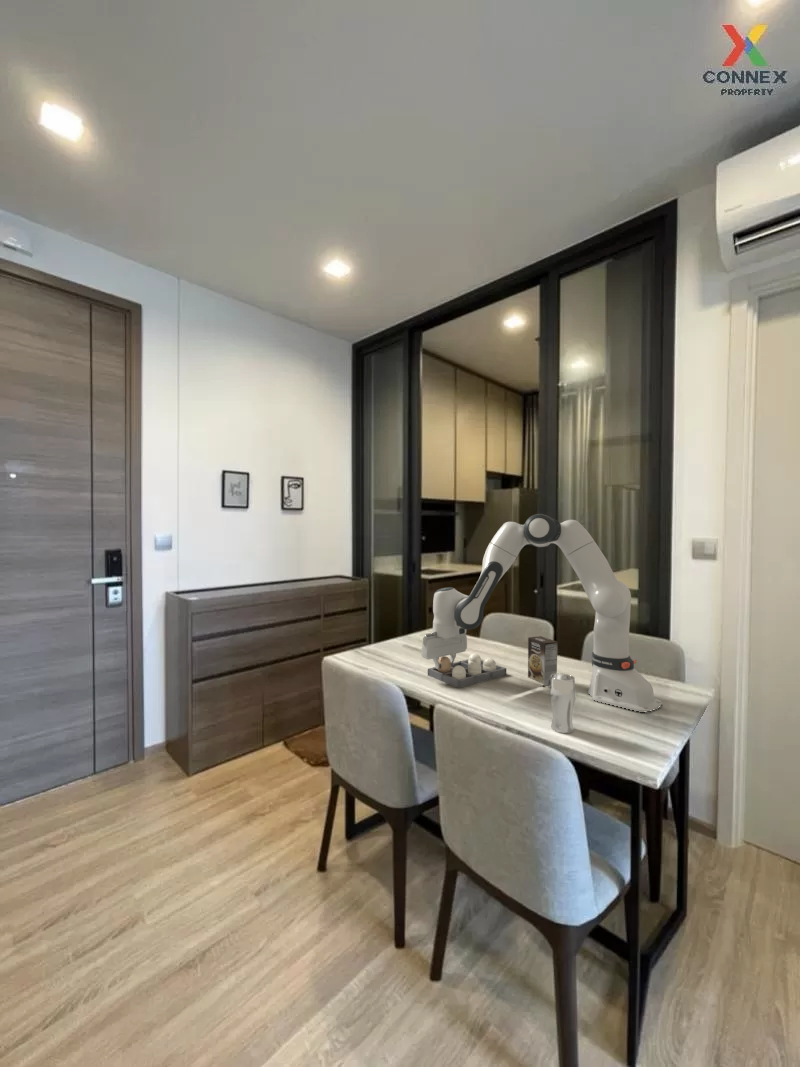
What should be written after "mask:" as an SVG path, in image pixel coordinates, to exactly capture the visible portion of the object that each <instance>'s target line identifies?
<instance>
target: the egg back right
mask: <svg viewBox="0 0 800 1067" xmlns="http://www.w3.org/2000/svg"><path fill="white" fill-rule="evenodd" d="M481 660H482V658H481V656H480V655H479V654H478V653H476V652H474V653H471V654H470V655H469V656H468V664H470V663H471V662H478V663H479V664H480V665H481Z"/></svg>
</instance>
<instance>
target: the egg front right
mask: <svg viewBox="0 0 800 1067" xmlns="http://www.w3.org/2000/svg"><path fill="white" fill-rule="evenodd" d="M483 661H484V662H483V669H485V670H487V671H493V670H496V665H497V663H496V661H495V659H493V658H491V657H488V658H487V657H486V658H485V659H484V660H483Z"/></svg>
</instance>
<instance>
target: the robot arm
mask: <svg viewBox="0 0 800 1067" xmlns="http://www.w3.org/2000/svg"><path fill="white" fill-rule="evenodd" d="M552 544H555V545H556V546H558V547H559V549H560V550H561V552H562V553H563V554H564V557H565V558H566V560H567V561H568V563H569V565H570V566H571V567H572V569H573V570H574V572H575V574H576V575H577V577H578V580H579V581H580V584H581V585H582V588H583V590H584V592H585V595H586V596H587V598H588V600H589V602H590V604H591V606H592V608H593V610H594V611H595V614H594V616H595V617H594V626H593V650H592V652H591V666H592V673H591V679H590V684H589V687H588V690H587V693H588V695H589V694H590V697H592V698H593V699H592V698H591V699H592V701H594V700H595V701H594V702H597V701H598V702H597V703H601V702H602V703H601V704H605V703H606V704H605V705H608V704H610V705H609V706H612V705H614V706H613V707H616V706H618V708H620V707H622V708H621V709H624V708H626V709H625V710H628V709H630V710H629V711H632V710H634V711H633V712H636V711H639V712H638V713H640V712H644V711H650V710H653V709H656V708H658V707H659V706H661V704H662V705H663V702H662V700H661V699H658V698H656V697H655V693H654V692H655V691H654V687H653V685H652V683H650V681H648V679H646V678H645V677H644V676H643V675H642V674H641V673H640V672H639V671H637V669H635V664H637V659H634V660H633V659H632V658H631V656H630V626H631V625H630V622H631V609H632V608H631V605H632V604H631V603H632V602H631V601H632V592H631V591H630V588H629V586H627V585H626V584H625V583H624V582H623V581H620V580H618V579H617V577H616V574H614V571H613V569H612V568H611V565H610V564H609V561H608V560H607V558H606V557H605V555H604V553H603V551H601V548H600V547H599V545H598V544H597V543H596V541H595V540H594V538H593V537H592V535H591V534H590V533H589V531H588V530H587V529H586V528H585V527H584V525H582V524H581V523H580V522H579V520H575V519H567V520H565V521H562V522H560V521H559V520H556V519H554V518H553V517H550V516H549V515H547V514H543V513H536V514H533V515H531V516H529V517H528V518H527V519H526V521H525V523H524V524H521V523H518V522H515V521H507V522H504V523H503V524H502V525H501V526H500V528H499V529H498V530H497V532H496V533H495V534H494V536H493V537H492V539H491V540H490V542H489V543H488V546H487V547H486V549H485V553H484V555H483V559H482V564H481V566H482V568H481V572H480V576H479V578H478V580H477V581H476V584H475V585H474V587H473V589H472V590H471V592H470V594H469V595H467V594H464V593H462V592H460V591H458V590H457V589H456V588H454V587H451V586H449V587H447V586H446V587H442V588H439V589H437V590H436V591H435V592H434V594H433V599H432V600H433V602H432V603H433V604H432V612H433V621H432V632H428V633H426V634H425V635H424V636H423V637H422V645H421V652H420V653H421V658H423V659H425V660H427V661H428V660H432V661H433V662H434V664H435V666H434V667H435V668H436V669H440V668H441V664H440V663H439V662H438V660H439V658H441V657H443V656H445V657H447V656H450V657H449V659H450V661H451V666H452V665H454V663H455V659H456V657H457V654H459V653H464V652H466V651H467V648H468V638H467V631H469V630H470V631H471V630H473V629H474V630H475V629H476V628H478V627H479V626H480V625H481V623H482V622H483V620H484V611H485V606H486V604H487V602H488V601H489V598H490V597H491V594H492V593H493V592H494V589H495V588H496V586H497V584H498V582H499V581H500V580H501V579H502V578H503V576H504V575H505V573H506V572H508V571H509V569H510V568H511V567H512V565H513V564H514V562H515V561H516V559H517V557H518V555H519V554H520V553H521V550H522V549H523V548H524V547H525V546H532V547H535V548H546V547H549V546H550V545H552ZM661 707H662V706H661Z"/></svg>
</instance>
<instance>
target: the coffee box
mask: <svg viewBox="0 0 800 1067" xmlns="http://www.w3.org/2000/svg"><path fill="white" fill-rule="evenodd" d="M527 638H528V639H527V646H528V647H527V668H528V669H527V678H529V679H531V680H532V681H535V682H538V684H539V683H540V684H542V687H543V686H544V687H543V688H546V687H545V686H548V687H550V679H551V675H552V674H555V673H558V641H556V640H554V639H550V638H549V637H548V638H547V637H545V636H529V637H527Z"/></svg>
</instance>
